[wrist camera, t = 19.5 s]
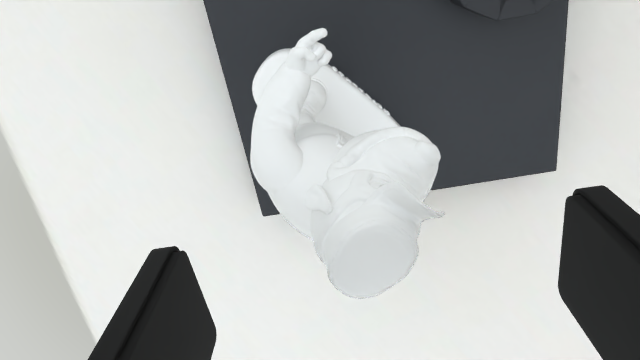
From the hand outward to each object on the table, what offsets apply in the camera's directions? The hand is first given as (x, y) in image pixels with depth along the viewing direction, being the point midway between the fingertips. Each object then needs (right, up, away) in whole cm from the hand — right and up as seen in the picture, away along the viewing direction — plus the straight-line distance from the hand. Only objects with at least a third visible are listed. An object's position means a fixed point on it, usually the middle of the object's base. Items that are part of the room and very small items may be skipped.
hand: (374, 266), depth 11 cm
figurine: (0, +5, +11) cm, 12 cm away
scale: (+2, +8, +11) cm, 14 cm away
